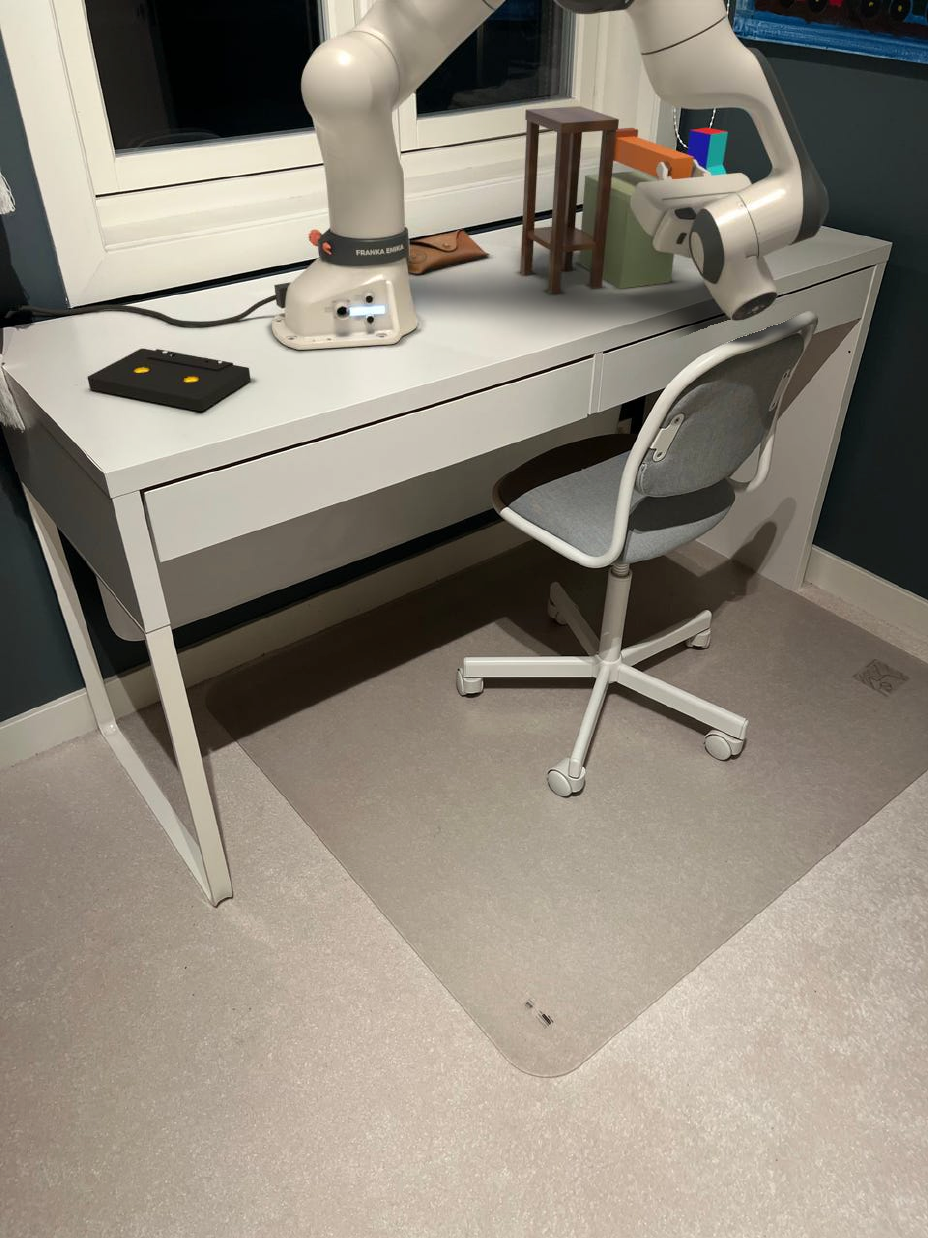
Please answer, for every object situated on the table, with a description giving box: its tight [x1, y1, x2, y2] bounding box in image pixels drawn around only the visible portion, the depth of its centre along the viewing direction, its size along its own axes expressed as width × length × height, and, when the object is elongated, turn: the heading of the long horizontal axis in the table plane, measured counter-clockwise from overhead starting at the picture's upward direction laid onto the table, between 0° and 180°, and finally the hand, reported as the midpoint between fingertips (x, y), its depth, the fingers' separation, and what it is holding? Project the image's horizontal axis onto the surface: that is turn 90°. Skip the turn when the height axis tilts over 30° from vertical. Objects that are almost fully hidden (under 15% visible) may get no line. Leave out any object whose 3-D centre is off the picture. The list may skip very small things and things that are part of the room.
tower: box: [613, 127, 694, 179], centre depth 155 cm, size 5×20×5 cm, turn 22°
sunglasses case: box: [408, 228, 490, 275], centre depth 174 cm, size 18×7×7 cm, turn 132°
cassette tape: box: [86, 348, 251, 412], centre depth 128 cm, size 18×12×2 cm, turn 67°
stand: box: [519, 105, 620, 295], centre depth 159 cm, size 10×13×26 cm
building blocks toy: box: [686, 127, 729, 177], centre depth 188 cm, size 19×25×18 cm
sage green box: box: [578, 170, 675, 290], centre depth 166 cm, size 10×16×15 cm, turn 22°
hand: (674, 163), depth 149 cm, fingers closed on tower, 3 cm apart
